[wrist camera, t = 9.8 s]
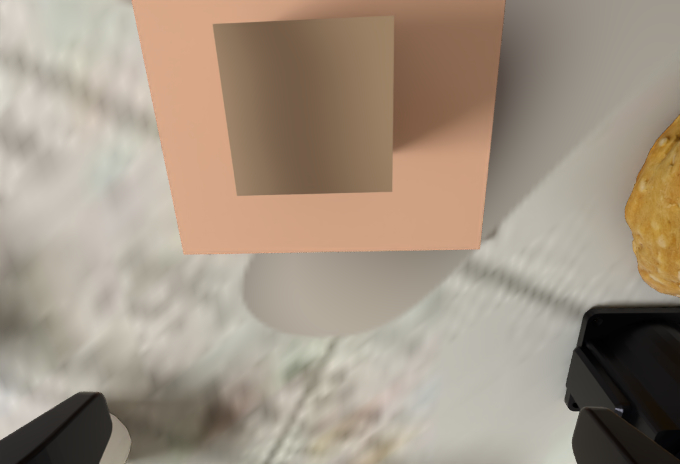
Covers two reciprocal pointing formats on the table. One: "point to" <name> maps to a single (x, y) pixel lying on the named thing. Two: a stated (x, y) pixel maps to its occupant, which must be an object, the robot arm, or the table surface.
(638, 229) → the bagel
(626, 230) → the table surface
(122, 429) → the white cup
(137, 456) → the table surface
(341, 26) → the walnut cube
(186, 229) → the tile mat
